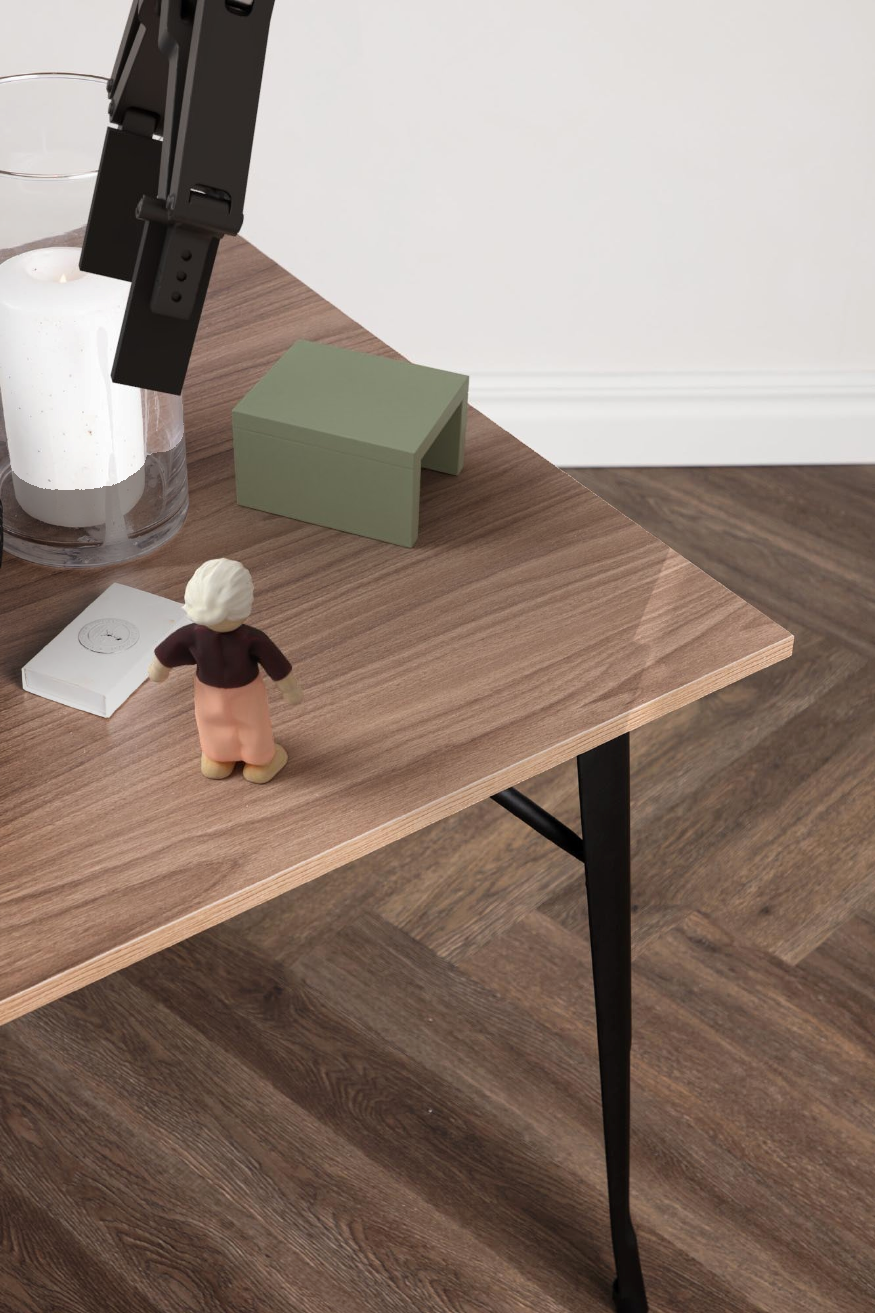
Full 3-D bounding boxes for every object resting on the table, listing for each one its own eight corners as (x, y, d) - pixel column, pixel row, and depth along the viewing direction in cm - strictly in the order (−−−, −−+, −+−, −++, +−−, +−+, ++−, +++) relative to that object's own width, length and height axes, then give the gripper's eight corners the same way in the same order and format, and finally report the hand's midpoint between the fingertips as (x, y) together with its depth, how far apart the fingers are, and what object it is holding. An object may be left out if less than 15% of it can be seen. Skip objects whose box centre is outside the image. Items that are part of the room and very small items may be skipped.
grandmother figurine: (307, 735, 75) (302, 542, 67) (305, 787, 72) (300, 592, 64) (161, 735, 75) (138, 540, 67) (153, 787, 72) (128, 591, 64)
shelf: (236, 504, 91) (231, 409, 86) (300, 429, 98) (298, 337, 94) (411, 548, 88) (414, 453, 84) (463, 467, 95) (469, 375, 91)
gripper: (444, -159, 43) (264, 463, 53) (278, -204, 63) (169, 255, 73) (206, -253, 40) (61, 426, 50) (110, -269, 60) (19, 220, 70)
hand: (124, 326), depth 61 cm, fingers open, 13 cm apart
